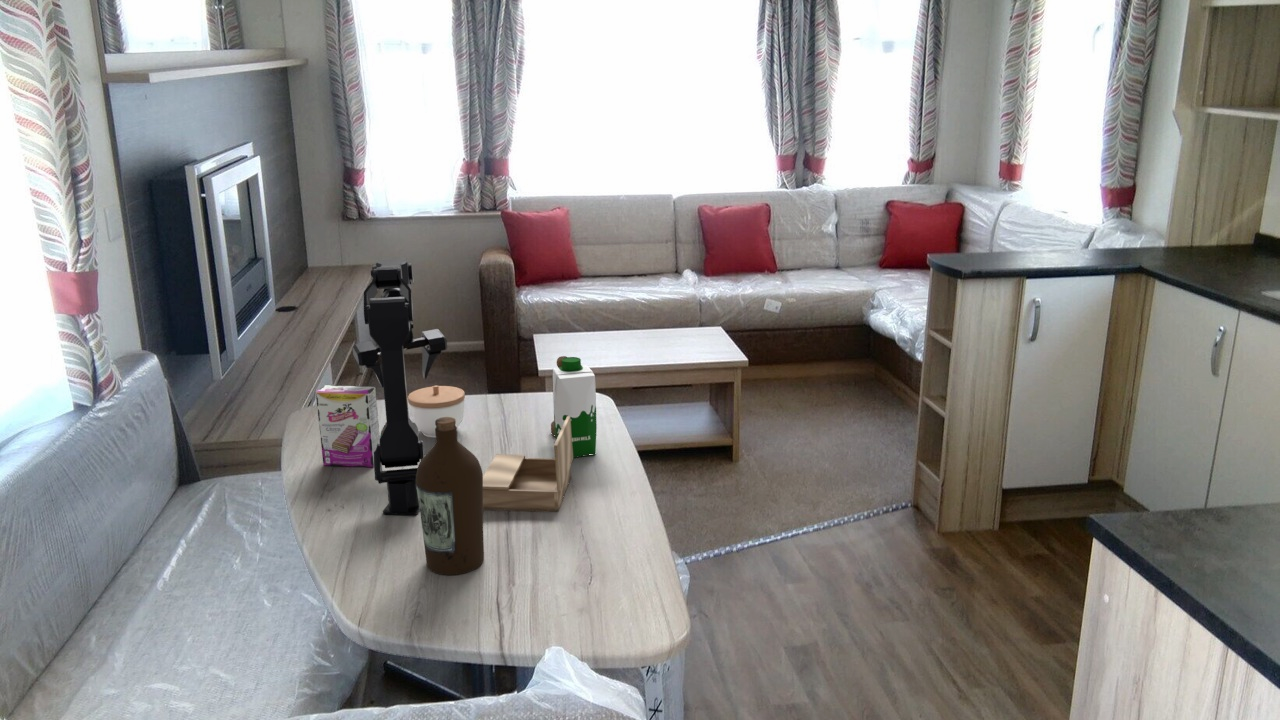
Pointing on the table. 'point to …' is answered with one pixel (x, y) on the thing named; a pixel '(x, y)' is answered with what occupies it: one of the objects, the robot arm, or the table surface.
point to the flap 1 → (502, 471)
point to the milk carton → (576, 404)
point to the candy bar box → (348, 425)
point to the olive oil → (451, 503)
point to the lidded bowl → (435, 407)
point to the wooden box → (529, 489)
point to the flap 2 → (563, 453)
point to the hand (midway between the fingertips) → (403, 382)
